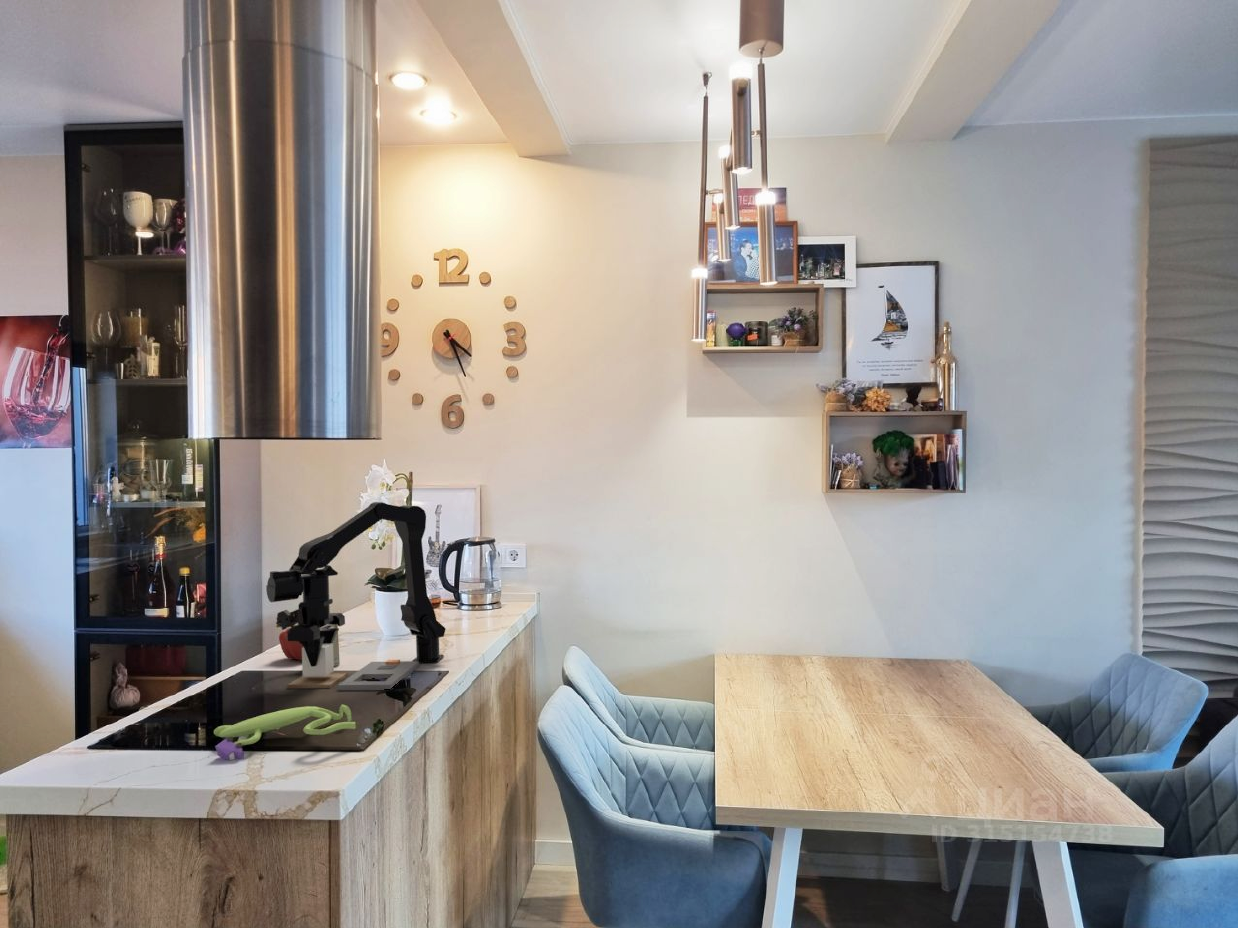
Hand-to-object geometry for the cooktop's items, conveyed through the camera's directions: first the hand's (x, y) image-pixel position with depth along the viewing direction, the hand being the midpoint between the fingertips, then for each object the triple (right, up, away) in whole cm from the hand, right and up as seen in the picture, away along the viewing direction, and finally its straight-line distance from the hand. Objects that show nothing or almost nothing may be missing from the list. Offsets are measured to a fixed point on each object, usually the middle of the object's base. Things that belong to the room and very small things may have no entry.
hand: (318, 663), depth 189 cm
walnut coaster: (0, -4, 0) cm, 4 cm away
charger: (0, -2, 0) cm, 2 cm away
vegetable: (-14, -5, +24) cm, 28 cm away
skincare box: (-4, -5, +15) cm, 16 cm away
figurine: (+9, -5, -40) cm, 41 cm away
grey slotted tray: (+14, -4, +3) cm, 15 cm away
